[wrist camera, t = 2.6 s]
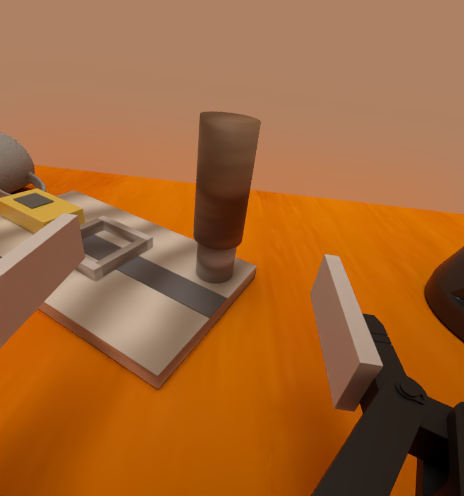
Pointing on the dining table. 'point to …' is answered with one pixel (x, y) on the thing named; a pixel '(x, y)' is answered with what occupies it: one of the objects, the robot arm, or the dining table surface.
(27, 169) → the ceramic mug
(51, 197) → the block
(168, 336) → the subfloor panel
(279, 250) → the dining table surface
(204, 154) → the brown tall rounded piece
